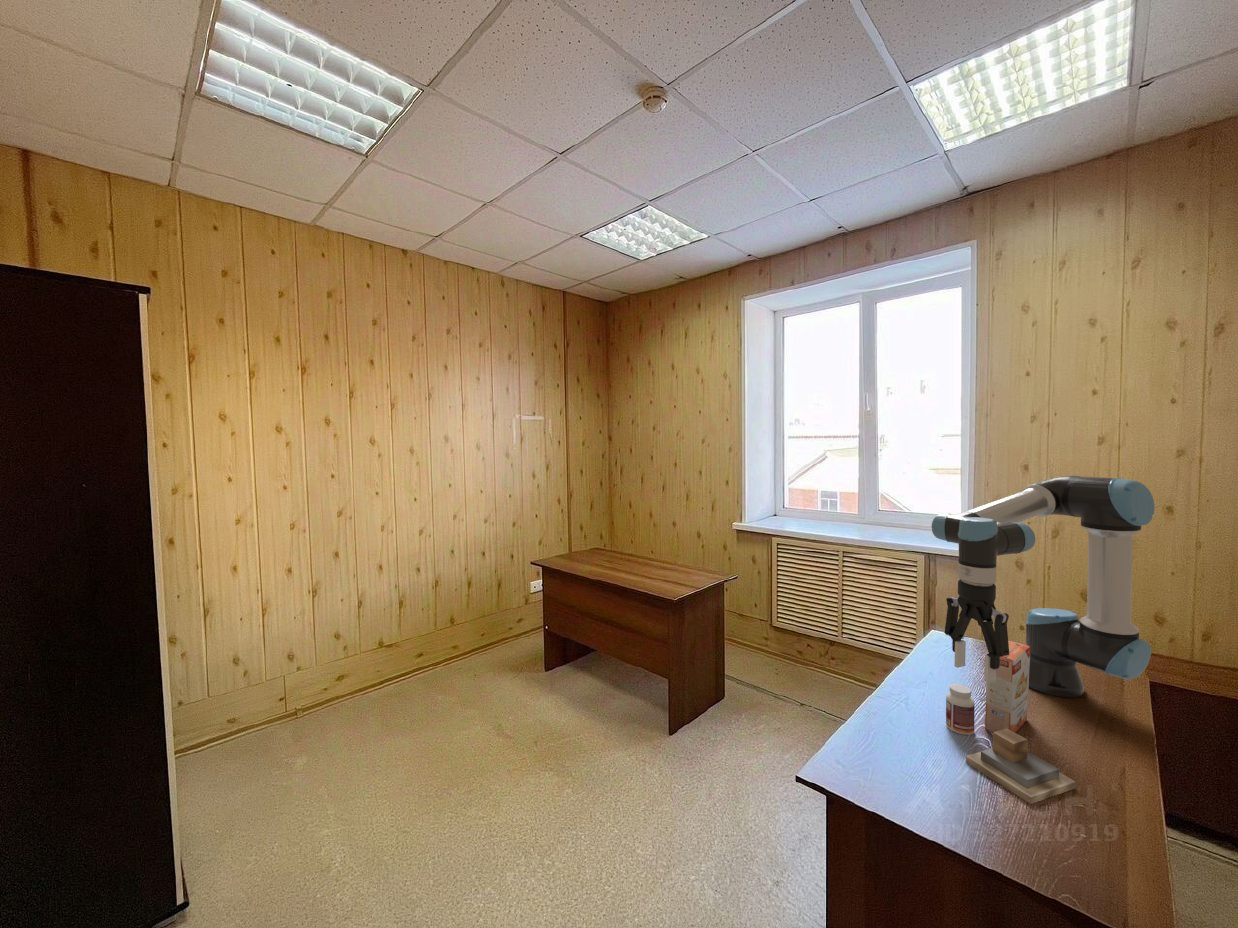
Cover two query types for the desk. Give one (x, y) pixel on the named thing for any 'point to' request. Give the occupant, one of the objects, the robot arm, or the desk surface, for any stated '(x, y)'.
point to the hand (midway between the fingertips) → (974, 672)
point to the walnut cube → (1010, 745)
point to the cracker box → (1009, 691)
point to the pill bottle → (960, 710)
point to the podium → (1022, 775)
